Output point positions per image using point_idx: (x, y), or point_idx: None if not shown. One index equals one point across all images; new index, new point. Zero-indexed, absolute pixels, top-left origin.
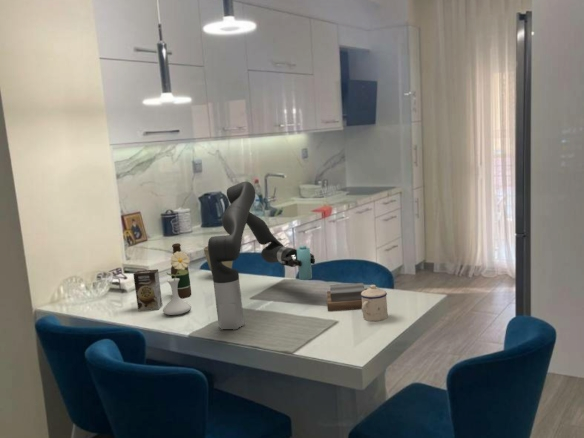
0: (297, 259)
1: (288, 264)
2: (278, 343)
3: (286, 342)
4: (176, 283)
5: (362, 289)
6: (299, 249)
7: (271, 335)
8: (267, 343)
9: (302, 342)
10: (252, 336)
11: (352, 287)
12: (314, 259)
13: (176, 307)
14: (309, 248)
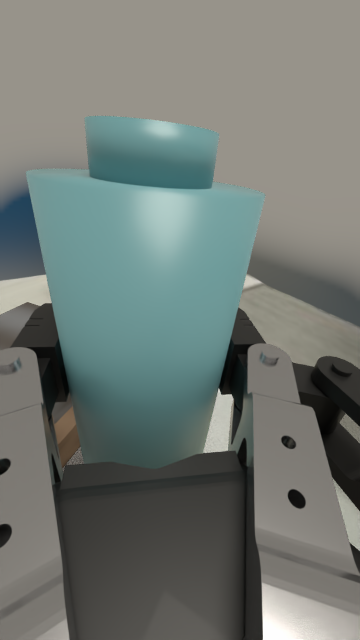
0: (229, 340)
1: (344, 445)
2: (285, 304)
3: (272, 302)
4: None
5: (13, 313)
6: (216, 187)
7: (302, 327)
8: (305, 310)
9: (246, 293)
10: (344, 339)
11: (5, 340)
12: (48, 307)
13: None
14: (72, 169)
